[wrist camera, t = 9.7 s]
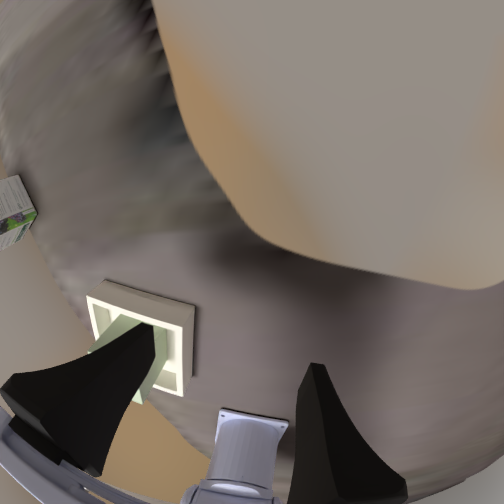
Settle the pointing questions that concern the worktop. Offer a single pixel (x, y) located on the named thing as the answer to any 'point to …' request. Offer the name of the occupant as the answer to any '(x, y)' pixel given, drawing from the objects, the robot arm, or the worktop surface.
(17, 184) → the syrup box
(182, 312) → the bin
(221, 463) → the robot arm
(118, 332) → the block
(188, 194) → the worktop surface
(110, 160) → the worktop surface
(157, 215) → the worktop surface
